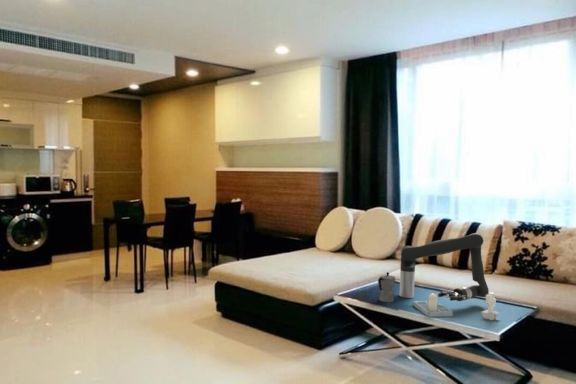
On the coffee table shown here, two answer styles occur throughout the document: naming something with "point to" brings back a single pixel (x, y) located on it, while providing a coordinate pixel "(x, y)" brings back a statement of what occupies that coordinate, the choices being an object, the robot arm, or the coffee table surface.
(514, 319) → the coffee table surface
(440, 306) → the muffin tray
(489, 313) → the figurine
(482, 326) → the coffee table surface
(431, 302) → the white tall cylinder
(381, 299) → the coffeepot
